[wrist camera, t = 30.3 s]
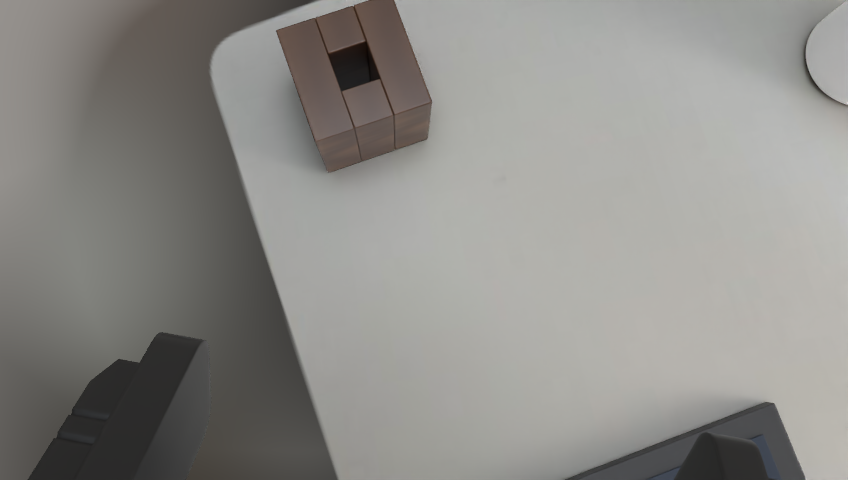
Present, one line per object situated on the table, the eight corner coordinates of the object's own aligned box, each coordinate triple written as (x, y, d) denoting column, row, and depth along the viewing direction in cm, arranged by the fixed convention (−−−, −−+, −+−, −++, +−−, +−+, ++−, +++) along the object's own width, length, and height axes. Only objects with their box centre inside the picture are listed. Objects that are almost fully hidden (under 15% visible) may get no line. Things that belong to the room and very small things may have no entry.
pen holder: (328, 173, 46) (315, 142, 39) (294, 77, 47) (275, 30, 40) (428, 138, 46) (432, 102, 40) (392, 44, 47) (391, -8, 40)
